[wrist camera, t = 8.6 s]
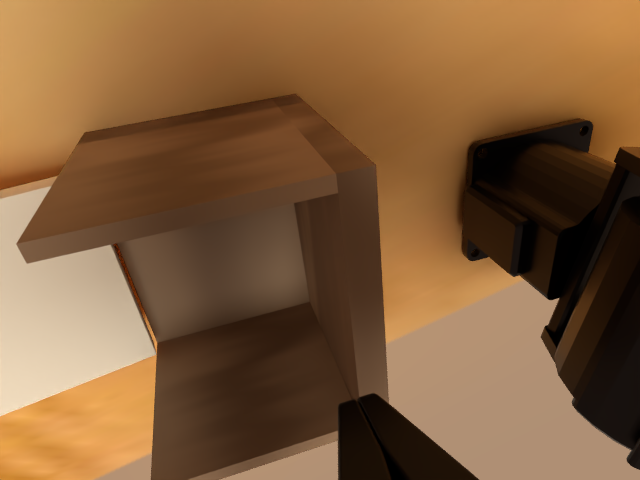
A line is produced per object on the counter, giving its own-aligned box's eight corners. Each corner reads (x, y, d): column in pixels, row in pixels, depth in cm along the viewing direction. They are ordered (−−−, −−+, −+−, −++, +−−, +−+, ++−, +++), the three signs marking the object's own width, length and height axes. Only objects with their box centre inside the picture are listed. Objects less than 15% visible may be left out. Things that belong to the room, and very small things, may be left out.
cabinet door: (83, 177, 15) (-178, 244, 13) (156, 354, 19) (-30, 428, 17) (82, 167, 16) (-160, 226, 14) (152, 337, 20) (-25, 404, 18)
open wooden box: (295, 94, 18) (376, 165, 11) (322, 286, 23) (389, 423, 16) (84, 132, 17) (15, 243, 9) (161, 329, 21) (155, 500, 14)
